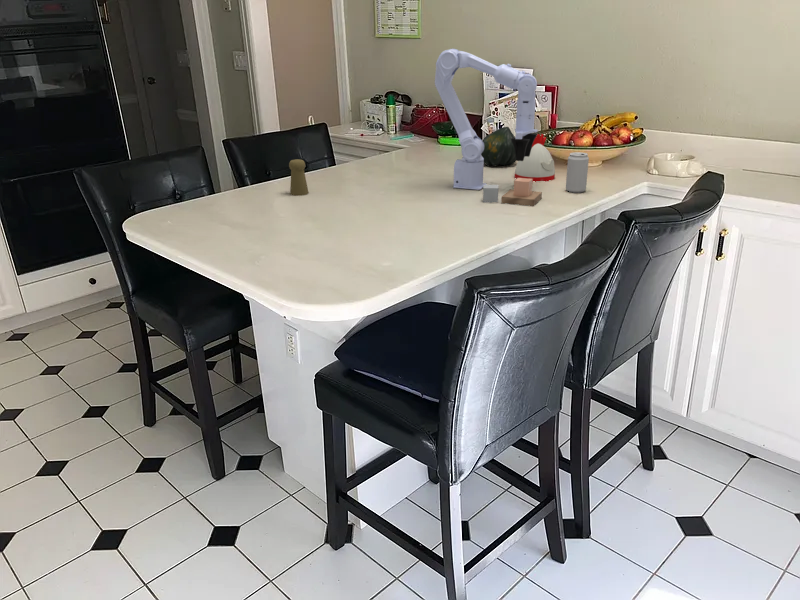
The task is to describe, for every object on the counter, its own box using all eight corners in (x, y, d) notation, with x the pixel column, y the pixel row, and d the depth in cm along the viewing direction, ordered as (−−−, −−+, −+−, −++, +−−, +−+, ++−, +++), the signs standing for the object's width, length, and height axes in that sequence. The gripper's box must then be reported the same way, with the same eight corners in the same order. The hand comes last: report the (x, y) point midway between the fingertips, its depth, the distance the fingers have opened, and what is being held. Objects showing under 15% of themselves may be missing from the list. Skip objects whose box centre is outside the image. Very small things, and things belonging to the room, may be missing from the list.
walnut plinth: (501, 203, 199) (501, 196, 198) (510, 195, 207) (510, 189, 206) (533, 206, 195) (534, 199, 194) (541, 198, 203) (541, 191, 202)
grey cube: (482, 202, 200) (483, 188, 198) (483, 198, 204) (483, 184, 202) (497, 202, 199) (498, 188, 198) (498, 199, 203) (498, 184, 202)
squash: (466, 150, 250) (490, 122, 240) (488, 146, 260) (511, 119, 250) (488, 178, 247) (513, 151, 237) (509, 173, 257) (534, 147, 247)
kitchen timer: (563, 178, 228) (566, 134, 222) (534, 184, 221) (537, 139, 215) (534, 171, 239) (536, 129, 233) (506, 177, 232) (508, 133, 226)
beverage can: (586, 193, 207) (589, 155, 203) (565, 193, 209) (568, 155, 204) (585, 189, 213) (588, 151, 208) (565, 188, 214) (568, 151, 210)
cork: (312, 192, 216) (309, 158, 211) (302, 196, 211) (299, 162, 206) (296, 190, 218) (294, 157, 214) (286, 194, 213) (283, 160, 209)
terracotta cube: (513, 195, 199) (514, 180, 197) (517, 192, 203) (518, 177, 201) (528, 196, 197) (528, 181, 195) (531, 193, 201) (532, 178, 199)
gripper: (532, 118, 198) (529, 163, 203) (543, 112, 210) (540, 155, 215) (509, 117, 201) (507, 162, 206) (521, 111, 213) (519, 153, 218)
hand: (523, 158), depth 211 cm, fingers open, 7 cm apart
